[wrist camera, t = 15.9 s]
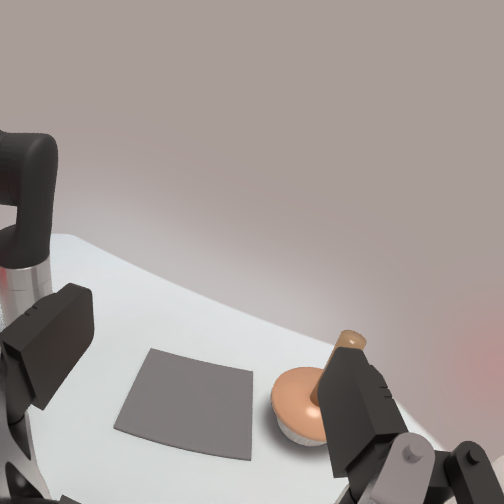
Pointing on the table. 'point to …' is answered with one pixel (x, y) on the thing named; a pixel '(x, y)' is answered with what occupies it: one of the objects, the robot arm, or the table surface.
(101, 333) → the table surface
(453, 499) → the milk bottle
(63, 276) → the table surface
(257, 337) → the table surface
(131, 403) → the mat
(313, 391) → the lid
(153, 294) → the table surface
